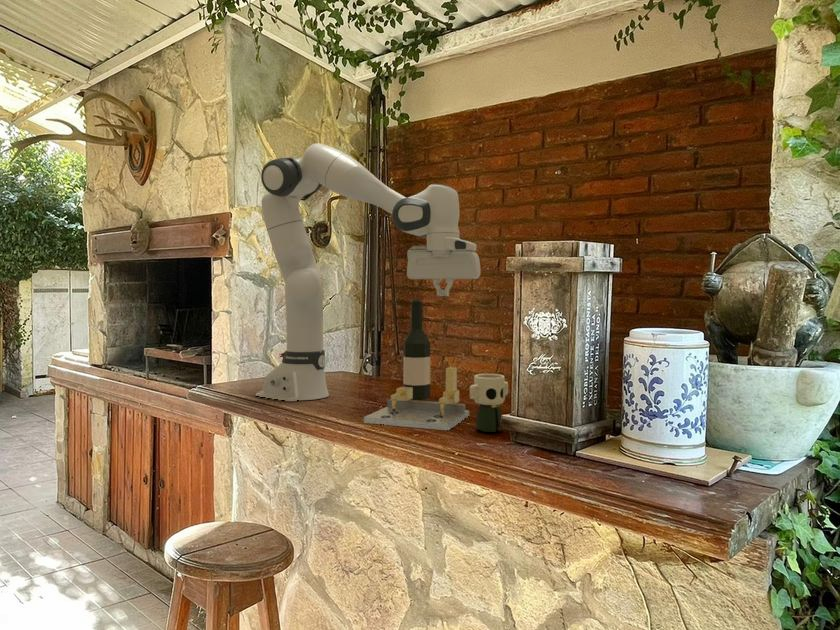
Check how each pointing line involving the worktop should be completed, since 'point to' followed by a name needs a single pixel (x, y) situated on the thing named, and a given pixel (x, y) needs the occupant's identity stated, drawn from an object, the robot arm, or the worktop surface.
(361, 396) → the worktop surface
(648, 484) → the worktop surface
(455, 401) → the sliding leg
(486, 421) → the character mug
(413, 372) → the wine bottle
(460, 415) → the flange plate
